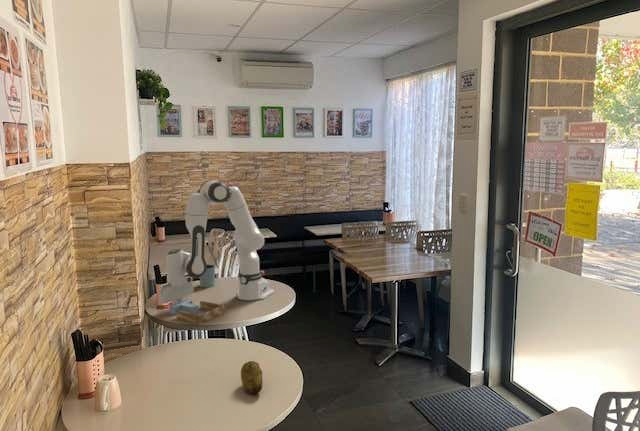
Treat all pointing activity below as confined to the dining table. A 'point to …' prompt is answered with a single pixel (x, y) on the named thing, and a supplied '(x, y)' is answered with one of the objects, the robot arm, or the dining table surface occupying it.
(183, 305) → the t block
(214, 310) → the corral
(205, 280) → the grey-blue cup
